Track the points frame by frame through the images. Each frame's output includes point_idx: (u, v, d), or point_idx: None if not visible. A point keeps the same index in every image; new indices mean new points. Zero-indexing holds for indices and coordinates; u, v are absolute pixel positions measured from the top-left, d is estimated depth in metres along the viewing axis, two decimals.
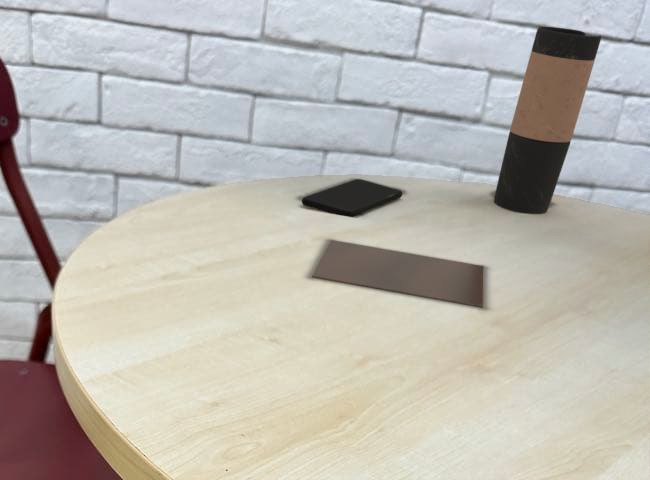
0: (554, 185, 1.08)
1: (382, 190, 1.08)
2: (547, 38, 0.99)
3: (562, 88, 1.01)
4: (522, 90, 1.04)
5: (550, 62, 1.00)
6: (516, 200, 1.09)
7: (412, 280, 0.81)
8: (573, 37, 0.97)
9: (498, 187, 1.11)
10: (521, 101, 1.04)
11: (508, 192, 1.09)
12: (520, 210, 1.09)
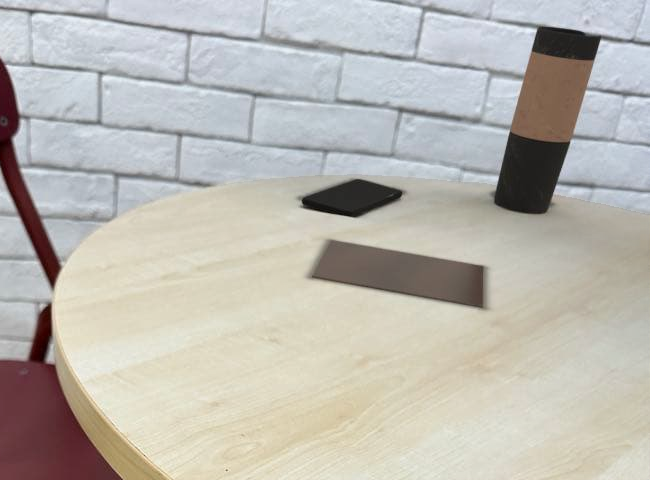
0: (554, 185, 1.08)
1: (382, 190, 1.08)
2: (547, 38, 0.99)
3: (562, 88, 1.01)
4: (522, 90, 1.04)
5: (550, 62, 1.00)
6: (516, 200, 1.09)
7: (412, 280, 0.81)
8: (573, 37, 0.98)
9: (498, 187, 1.11)
10: (521, 101, 1.04)
11: (508, 192, 1.09)
12: (520, 210, 1.09)
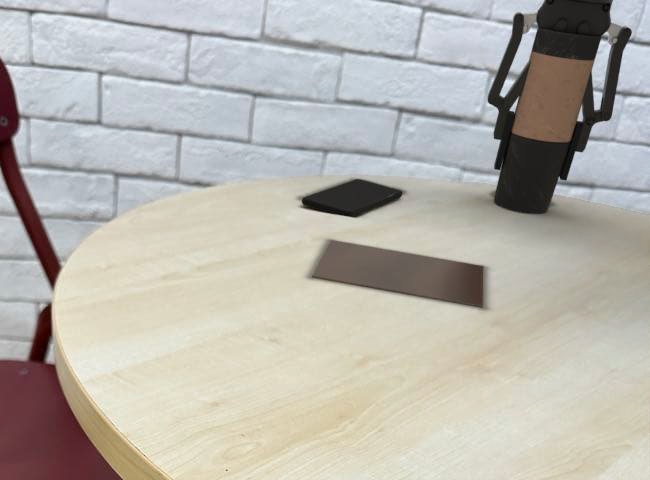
0: (554, 185, 1.08)
1: (382, 190, 1.08)
2: (547, 38, 0.99)
3: (562, 88, 1.01)
4: None
5: (550, 62, 1.00)
6: (516, 200, 1.09)
7: (412, 280, 0.81)
8: (573, 37, 0.97)
9: (498, 187, 1.11)
10: (521, 101, 1.04)
11: (508, 192, 1.09)
12: (520, 210, 1.09)
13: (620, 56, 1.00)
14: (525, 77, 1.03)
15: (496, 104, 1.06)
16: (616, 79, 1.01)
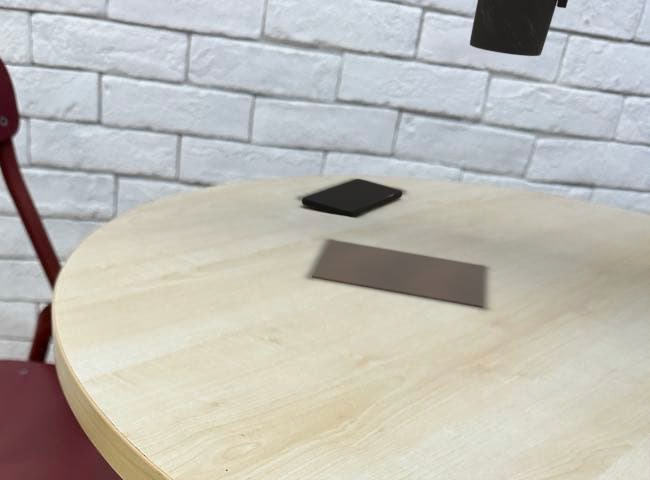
0: (549, 15, 0.80)
1: (382, 190, 1.08)
2: None
3: None
4: None
5: None
6: (498, 36, 0.81)
7: (412, 280, 0.81)
8: None
9: (475, 22, 0.83)
10: None
11: (488, 25, 0.81)
12: (503, 50, 0.81)
13: None
14: None
15: None
16: None
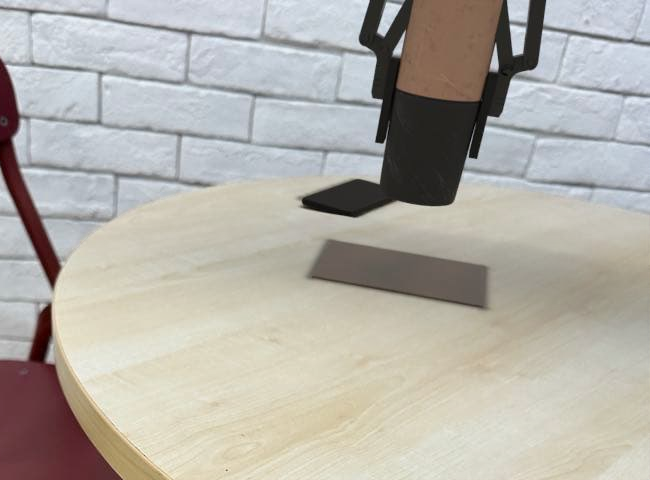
0: (460, 165, 0.75)
1: None
2: None
3: (462, 19, 0.67)
4: (408, 24, 0.71)
5: None
6: (406, 187, 0.75)
7: (412, 280, 0.81)
8: None
9: (382, 168, 0.77)
10: (406, 40, 0.71)
11: (395, 175, 0.76)
12: (412, 201, 0.76)
13: None
14: (410, 4, 0.70)
15: (372, 46, 0.72)
16: (543, 6, 0.68)
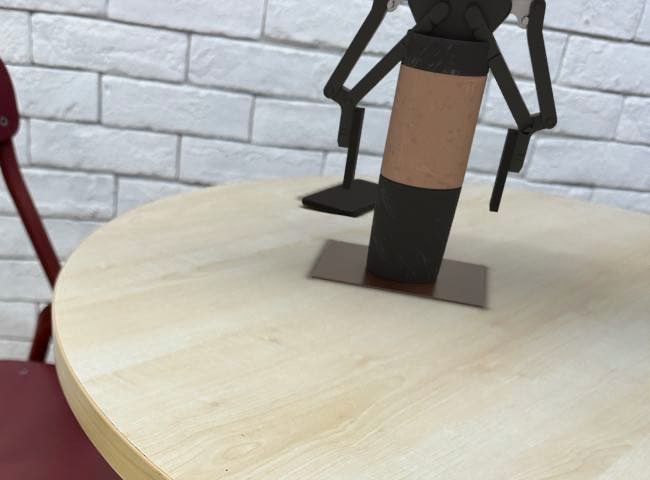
0: (442, 245, 0.79)
1: None
2: (417, 45, 0.70)
3: (441, 116, 0.71)
4: (391, 117, 0.75)
5: (422, 80, 0.70)
6: (391, 265, 0.80)
7: None
8: (451, 44, 0.68)
9: (369, 246, 0.81)
10: (390, 132, 0.75)
11: (381, 255, 0.80)
12: (397, 279, 0.80)
13: (541, 38, 0.69)
14: (381, 68, 0.73)
15: (336, 98, 0.75)
16: (546, 70, 0.70)
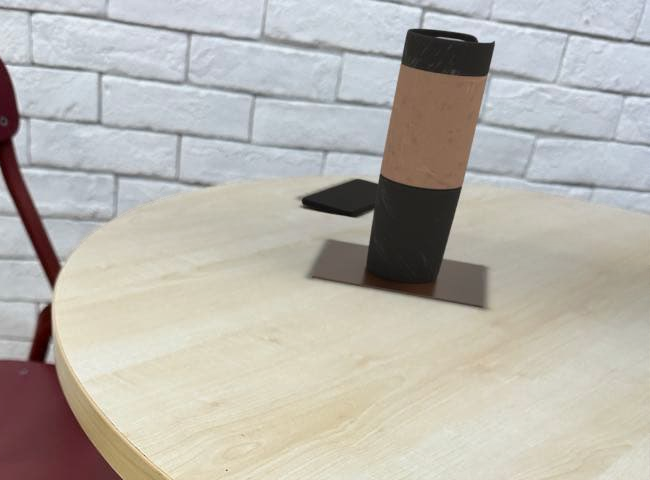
0: (442, 245, 0.79)
1: None
2: (417, 45, 0.70)
3: (441, 116, 0.71)
4: (391, 117, 0.75)
5: (422, 80, 0.70)
6: (391, 265, 0.80)
7: None
8: (451, 44, 0.68)
9: (369, 246, 0.81)
10: (390, 132, 0.75)
11: (381, 255, 0.80)
12: (397, 279, 0.80)
13: None
14: None
15: None
16: None
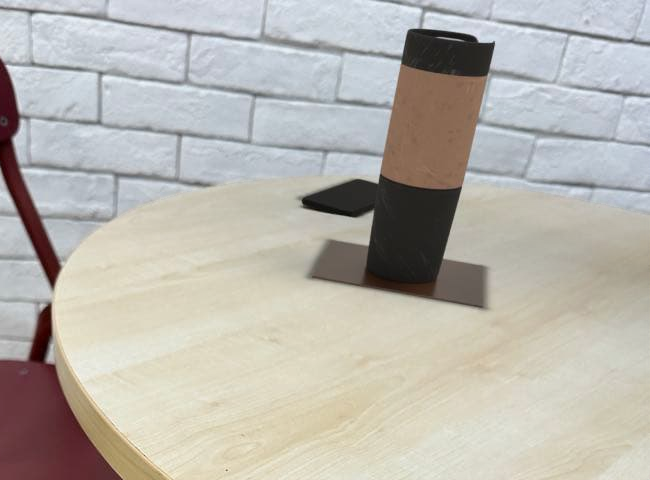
0: (442, 245, 0.79)
1: None
2: (417, 45, 0.70)
3: (441, 116, 0.71)
4: (391, 117, 0.75)
5: (422, 80, 0.70)
6: (391, 265, 0.80)
7: None
8: (452, 44, 0.68)
9: (369, 246, 0.81)
10: (390, 132, 0.75)
11: (381, 255, 0.80)
12: (397, 279, 0.80)
13: None
14: None
15: None
16: None
